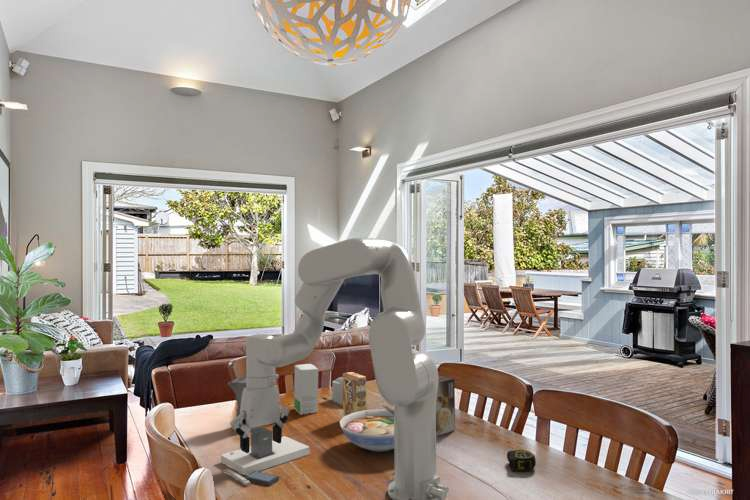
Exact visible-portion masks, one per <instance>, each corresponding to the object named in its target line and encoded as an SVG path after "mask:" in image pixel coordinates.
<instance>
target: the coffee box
mask: <svg viewBox="0 0 750 500" xmlns="http://www.w3.org/2000/svg"><path fill="white" fill-rule="evenodd" d="M455 388H456V387H455V378H453V377H450V376H444V375H438V390H437V399H436V437H440V436H441V435H442V436H443V435H445V434H448V433H450V432H454V431H456V394H455Z"/></svg>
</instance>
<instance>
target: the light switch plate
mask: <svg viewBox="0 0 750 500" xmlns="http://www.w3.org/2000/svg"><path fill="white" fill-rule="evenodd" d="M249 447H250V451H249V453H245V452H243V451H242V450H241V448H239V449H237V450H233V451H230V452H226V453H225V452H224V453H222V454H220V463H221V462H223V463H225V464H226V465H228V466H230V467H232V468H233V469H235V470H236V471H238V472H240V473H242V474H243V475H246V476H247V474H250V473H252V472H254V471H258V472H261V471H263V470H268V469H270V468H272V467H276V466H279V465H281V464H285V463H287V462H290V461H293V460H297V459H299V458H303V457H307V456H308V455H310V454H311V452H310V451H311V450H310V449H311V448H310V446H308V445H306V444H304V443H301V442H299V441H297V440H295V439H293V438H291V437H287V436H285V435H282V438H281V443H277V442H275V441H273V439H272V455H271V456H267V457H264V458H261V459H256V458H254V457H252V456H251V445H249ZM223 463H222V464H223ZM226 465H225V466H226ZM228 466H227V467H228ZM233 469H232V470H233ZM236 471H235V472H236ZM238 472H237V473H238ZM240 473H239V474H240ZM243 475H242V476H243Z"/></svg>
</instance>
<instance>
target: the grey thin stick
mask: <svg viewBox="0 0 750 500" xmlns="http://www.w3.org/2000/svg"><path fill="white" fill-rule="evenodd" d="M224 472H226V473H228V474H230V475H231V476H233V477H234V478H236V479H238V480H239V481H241V482H242V483H243V484H244V485H246V486H245V487H248V486H251V482H250V481H248V480H247V479H245V476H244V477H243V475H241V474H240V473H238V472H236V471H234V470H233V469H231V468H226V469H223V473H224ZM231 476H230V477H231ZM234 478H233V479H234ZM236 479H235V480H236ZM239 481H238V482H239ZM242 483H241V484H242ZM243 484H242V485H243ZM244 485H243V486H244ZM247 485H248V486H247Z"/></svg>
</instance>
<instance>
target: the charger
mask: <svg viewBox="0 0 750 500" xmlns="http://www.w3.org/2000/svg"><path fill="white" fill-rule="evenodd" d="M272 440H273V430H270V429H269V428H265V427H262V428H260V429H257V430H253V431H250V446H251V456H252V457H254V458H256V459H261V458H264V457H267V456H271V455H272Z"/></svg>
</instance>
